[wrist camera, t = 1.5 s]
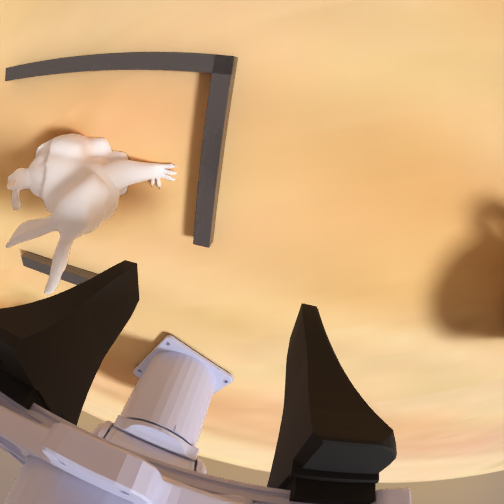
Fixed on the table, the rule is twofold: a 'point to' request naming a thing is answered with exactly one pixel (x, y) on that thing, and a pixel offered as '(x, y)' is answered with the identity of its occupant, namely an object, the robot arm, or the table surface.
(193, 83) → the table surface
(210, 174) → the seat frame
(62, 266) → the white figurine
